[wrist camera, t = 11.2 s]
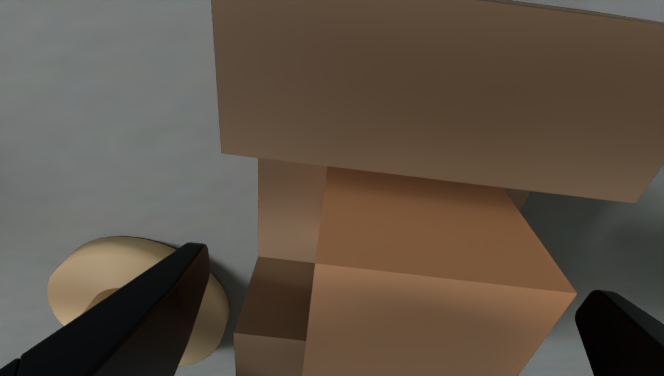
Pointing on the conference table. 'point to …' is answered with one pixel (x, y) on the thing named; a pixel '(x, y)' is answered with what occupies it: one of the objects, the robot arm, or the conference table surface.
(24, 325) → the conference table surface
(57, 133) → the conference table surface
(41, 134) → the conference table surface
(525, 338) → the light brown wooden block
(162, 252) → the spool
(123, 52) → the conference table surface
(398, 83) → the notch board
